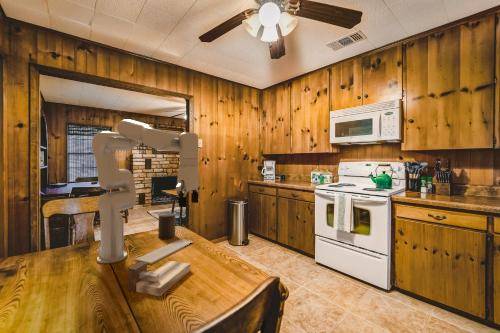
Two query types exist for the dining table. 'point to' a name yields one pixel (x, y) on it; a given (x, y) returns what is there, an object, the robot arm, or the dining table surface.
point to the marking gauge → (140, 275)
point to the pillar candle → (166, 225)
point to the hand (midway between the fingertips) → (189, 204)
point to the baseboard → (164, 251)
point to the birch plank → (164, 278)
